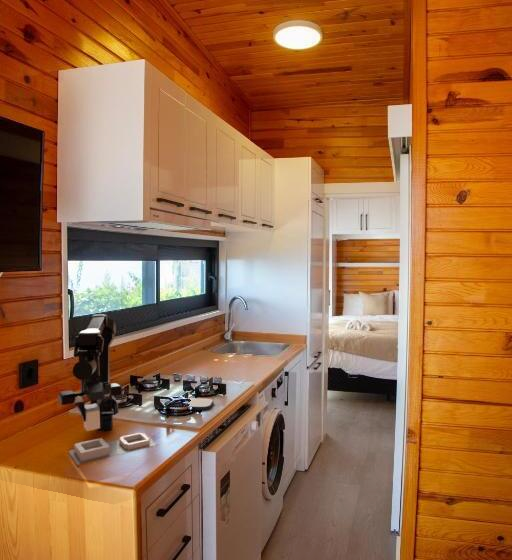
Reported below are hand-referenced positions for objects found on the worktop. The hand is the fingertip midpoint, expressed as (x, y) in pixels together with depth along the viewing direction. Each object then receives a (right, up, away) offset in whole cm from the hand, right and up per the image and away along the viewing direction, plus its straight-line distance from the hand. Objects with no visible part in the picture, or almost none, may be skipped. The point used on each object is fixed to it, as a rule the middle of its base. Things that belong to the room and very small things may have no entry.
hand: (91, 419), depth 156 cm
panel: (+6, -11, +5) cm, 14 cm away
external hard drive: (+22, -9, +50) cm, 56 cm away
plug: (0, -3, 0) cm, 3 cm away
